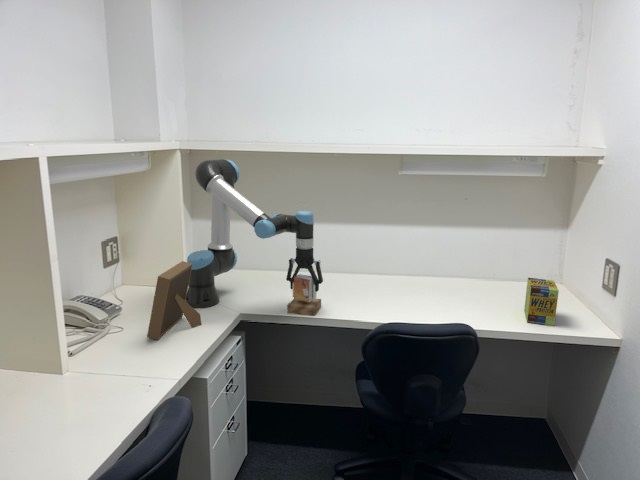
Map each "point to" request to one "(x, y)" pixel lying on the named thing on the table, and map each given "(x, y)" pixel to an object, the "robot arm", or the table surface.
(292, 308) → the plinth
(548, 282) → the protein box
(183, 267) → the photo frame
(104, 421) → the table surface
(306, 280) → the small box
